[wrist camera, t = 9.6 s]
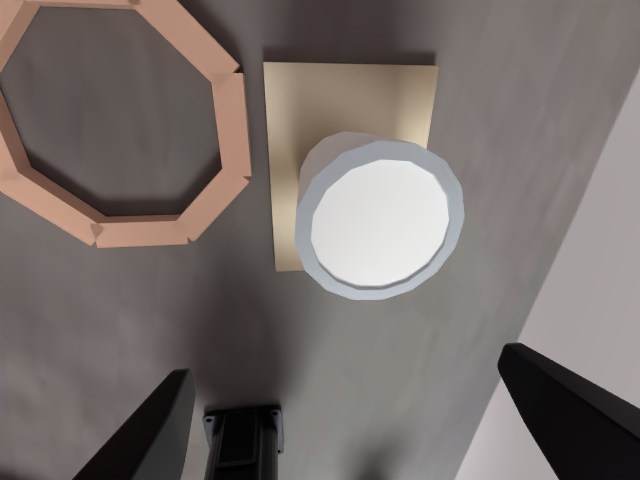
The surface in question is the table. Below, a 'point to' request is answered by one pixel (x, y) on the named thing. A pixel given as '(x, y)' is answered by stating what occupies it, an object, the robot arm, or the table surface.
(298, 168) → the beige flat pad
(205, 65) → the ring coaster
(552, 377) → the robot arm
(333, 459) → the table surface
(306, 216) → the white cylinder
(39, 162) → the table surface
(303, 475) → the table surface
